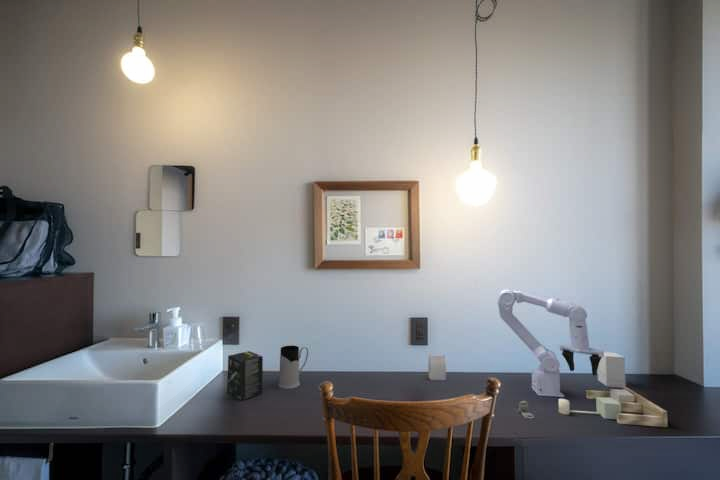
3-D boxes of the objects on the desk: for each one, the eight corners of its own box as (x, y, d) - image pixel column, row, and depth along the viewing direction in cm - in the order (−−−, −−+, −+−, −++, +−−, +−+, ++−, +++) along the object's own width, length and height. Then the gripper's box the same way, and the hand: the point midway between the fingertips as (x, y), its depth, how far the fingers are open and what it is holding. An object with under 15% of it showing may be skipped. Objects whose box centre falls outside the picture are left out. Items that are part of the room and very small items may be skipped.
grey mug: (273, 384, 138) (274, 348, 138) (300, 375, 148) (301, 341, 149) (287, 390, 132) (287, 352, 133) (314, 380, 143) (314, 345, 143)
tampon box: (263, 394, 128) (263, 355, 129) (240, 401, 121) (241, 361, 122) (248, 386, 136) (249, 350, 136) (226, 393, 129) (227, 354, 130)
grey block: (619, 408, 119) (618, 394, 119) (610, 402, 124) (610, 389, 124) (634, 409, 118) (634, 395, 118) (625, 403, 123) (625, 389, 123)
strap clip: (535, 420, 110) (535, 407, 111) (526, 420, 110) (526, 407, 110) (521, 408, 119) (521, 396, 119) (513, 408, 119) (513, 396, 119)
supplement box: (626, 388, 137) (625, 357, 138) (606, 386, 139) (605, 356, 139) (616, 381, 144) (615, 352, 145) (597, 380, 146) (596, 351, 146)
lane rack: (618, 423, 108) (618, 408, 108) (586, 397, 127) (586, 384, 128) (667, 427, 106) (667, 411, 106) (626, 400, 125) (626, 387, 126)
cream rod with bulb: (562, 415, 113) (562, 400, 113) (556, 408, 118) (555, 394, 118) (621, 419, 110) (621, 404, 110) (612, 412, 115) (611, 397, 115)
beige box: (445, 380, 144) (445, 356, 145) (430, 380, 144) (430, 356, 145) (443, 377, 148) (443, 354, 149) (428, 377, 148) (428, 354, 149)
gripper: (554, 335, 132) (558, 371, 131) (596, 341, 121) (601, 379, 120) (562, 332, 137) (566, 366, 135) (604, 337, 125) (608, 374, 124)
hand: (583, 372), depth 128 cm, fingers open, 7 cm apart
